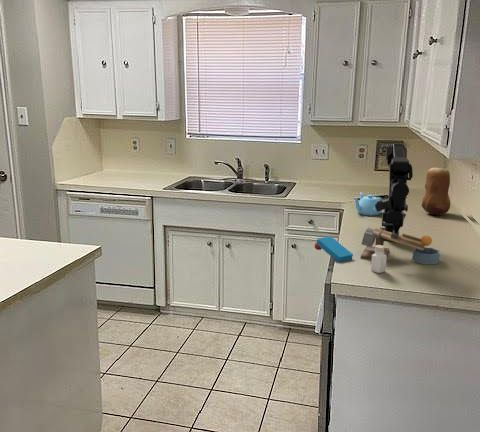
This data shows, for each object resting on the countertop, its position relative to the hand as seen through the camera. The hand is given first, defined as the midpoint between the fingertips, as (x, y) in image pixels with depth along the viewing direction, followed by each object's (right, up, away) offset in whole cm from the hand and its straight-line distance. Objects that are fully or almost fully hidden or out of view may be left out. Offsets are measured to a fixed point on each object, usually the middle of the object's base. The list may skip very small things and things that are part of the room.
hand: (396, 232), depth 189 cm
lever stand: (-7, -9, +5) cm, 12 cm away
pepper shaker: (-11, -14, -13) cm, 22 cm away
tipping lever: (-1, -7, +2) cm, 7 cm away
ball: (+10, -3, -4) cm, 11 cm away
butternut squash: (+43, +7, +68) cm, 80 cm away
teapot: (+8, +8, +72) cm, 73 cm away
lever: (-24, -9, +7) cm, 27 cm away
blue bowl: (+11, -11, -2) cm, 15 cm away
